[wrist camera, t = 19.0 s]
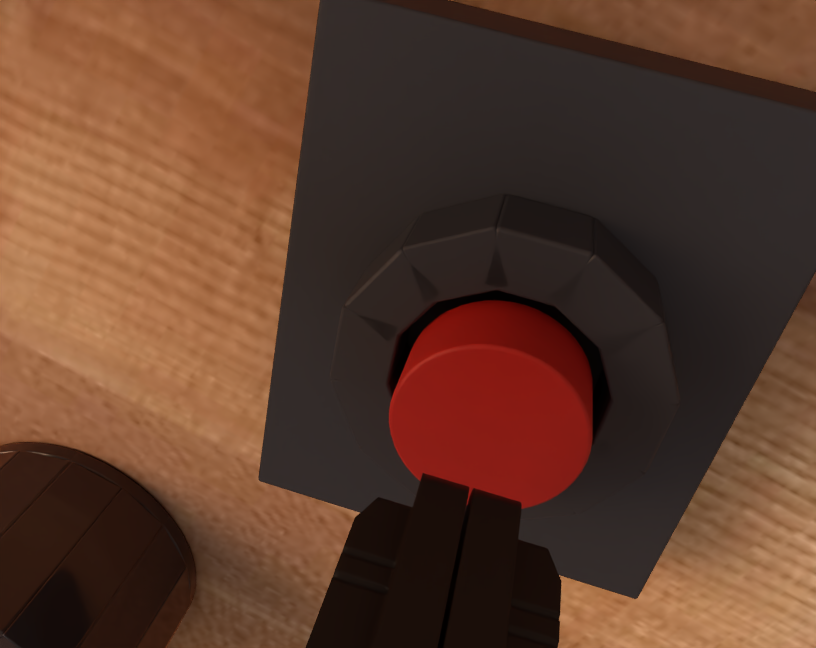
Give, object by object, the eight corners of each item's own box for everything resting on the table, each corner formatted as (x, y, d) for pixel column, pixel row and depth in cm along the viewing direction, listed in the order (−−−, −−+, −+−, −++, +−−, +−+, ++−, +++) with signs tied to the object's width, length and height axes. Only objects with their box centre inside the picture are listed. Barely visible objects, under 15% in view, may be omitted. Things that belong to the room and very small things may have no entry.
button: (429, 276, 14) (409, 319, 12) (619, 329, 14) (623, 381, 12) (392, 424, 16) (371, 478, 14) (560, 475, 15) (556, 535, 14)
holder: (-87, 459, 25) (-259, 598, 20) (120, 424, 23) (-20, 576, 17) (43, 638, 29) (-75, 795, 24) (237, 628, 26) (149, 805, 21)
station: (354, -24, 15) (284, -5, 12) (855, 102, 14) (937, 162, 11) (287, 430, 21) (228, 531, 18) (633, 536, 20) (641, 663, 17)
